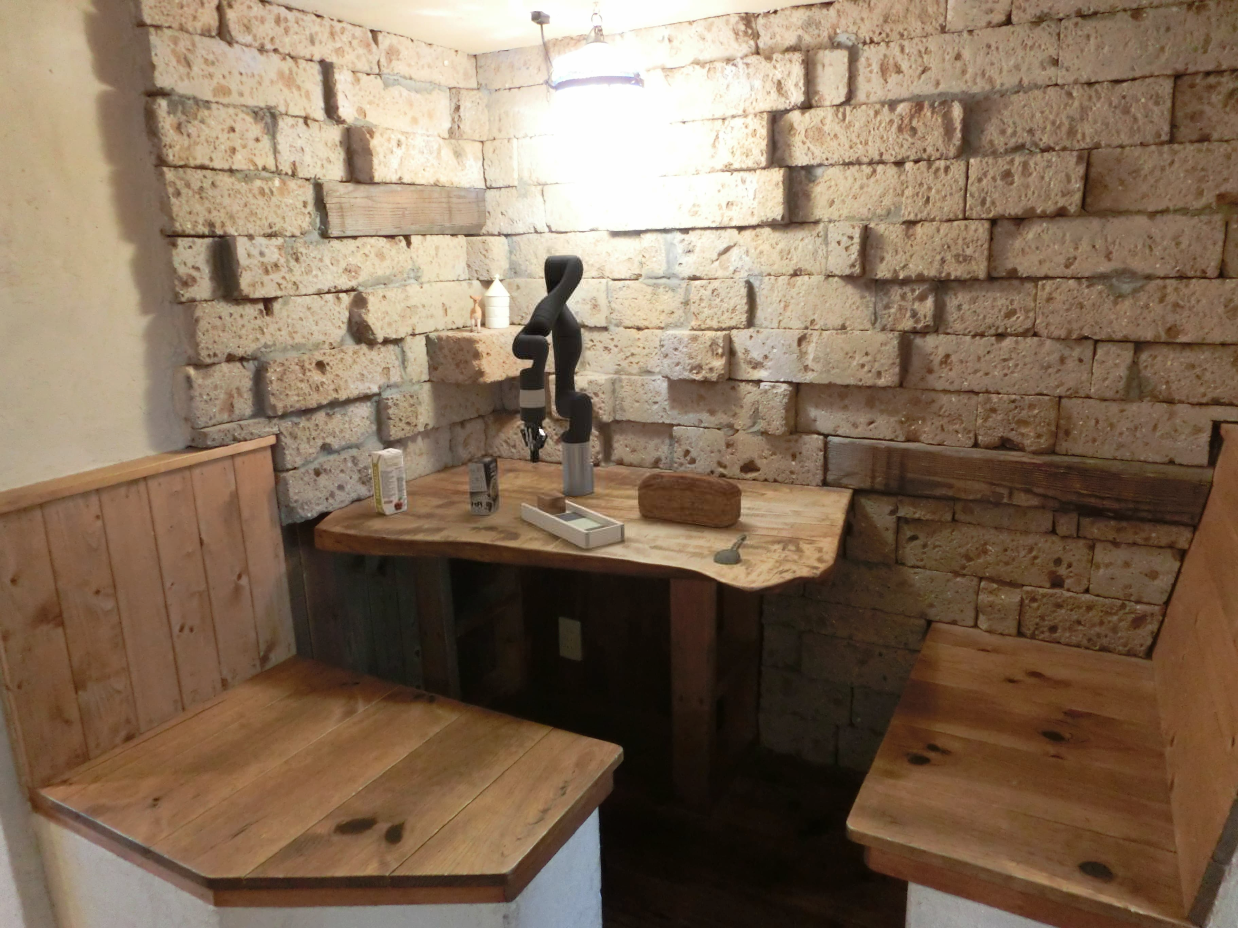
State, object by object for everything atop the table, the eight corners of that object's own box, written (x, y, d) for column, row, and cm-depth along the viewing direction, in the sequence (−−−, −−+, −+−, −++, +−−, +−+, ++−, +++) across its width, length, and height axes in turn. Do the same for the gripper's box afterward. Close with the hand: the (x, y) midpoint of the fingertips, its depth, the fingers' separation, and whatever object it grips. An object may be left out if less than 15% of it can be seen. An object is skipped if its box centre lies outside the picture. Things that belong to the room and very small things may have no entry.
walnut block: (555, 507, 251) (554, 491, 250) (565, 512, 246) (565, 495, 245) (537, 511, 248) (536, 494, 247) (547, 516, 243) (547, 499, 242)
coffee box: (490, 515, 254) (487, 463, 250) (470, 514, 255) (466, 462, 251) (500, 507, 262) (498, 456, 258) (481, 506, 263) (478, 455, 260)
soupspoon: (710, 567, 210) (736, 571, 208) (710, 555, 209) (736, 559, 207) (732, 537, 230) (755, 541, 228) (732, 525, 229) (756, 529, 227)
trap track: (557, 510, 257) (557, 496, 256) (624, 539, 229) (624, 523, 228) (521, 518, 250) (521, 503, 249) (586, 549, 222) (585, 532, 221)
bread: (730, 532, 234) (731, 485, 231) (632, 518, 249) (631, 473, 246) (746, 520, 244) (747, 475, 241) (651, 507, 259) (651, 464, 256)
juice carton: (410, 510, 261) (405, 450, 256) (386, 516, 255) (380, 455, 250) (396, 506, 266) (391, 446, 261) (372, 512, 260) (366, 451, 255)
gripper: (555, 405, 244) (557, 464, 248) (533, 400, 254) (535, 456, 258) (532, 408, 240) (534, 468, 243) (510, 402, 250) (513, 460, 254)
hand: (534, 462), depth 251 cm, fingers closed
